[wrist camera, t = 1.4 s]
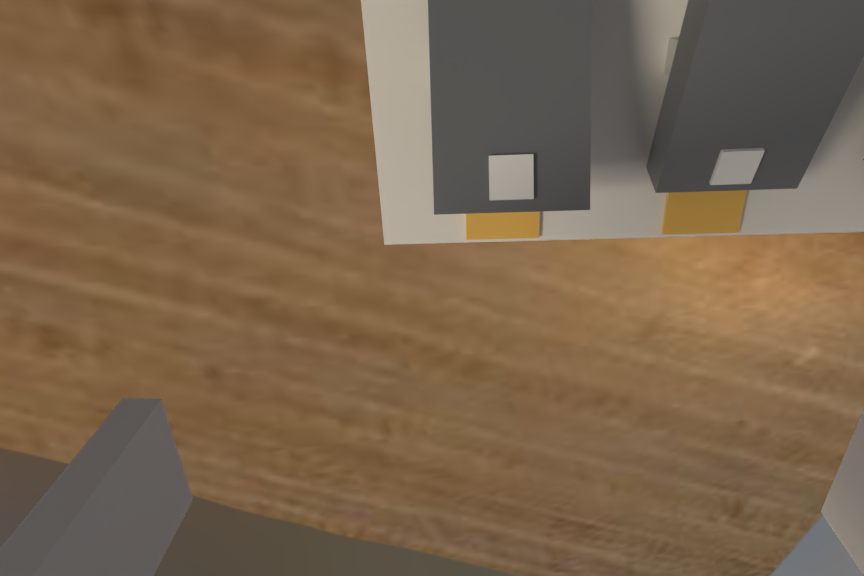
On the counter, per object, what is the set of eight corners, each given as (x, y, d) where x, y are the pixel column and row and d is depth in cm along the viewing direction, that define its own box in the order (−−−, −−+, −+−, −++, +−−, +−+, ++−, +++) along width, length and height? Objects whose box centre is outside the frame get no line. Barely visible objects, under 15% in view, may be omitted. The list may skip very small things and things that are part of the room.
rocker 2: (715, -109, 16) (737, -90, 14) (910, -122, 15) (947, -103, 14) (646, 166, 22) (656, 195, 21) (780, 162, 22) (799, 190, 21)
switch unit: (368, -136, 22) (337, -176, 17) (1082, -187, 21) (1305, -251, 15) (396, 205, 29) (380, 256, 23) (942, 188, 27) (1063, 239, 22)
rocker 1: (428, -59, 19) (425, -86, 17) (581, -69, 19) (593, -97, 17) (436, 214, 20) (433, 214, 18) (580, 209, 20) (591, 210, 18)
